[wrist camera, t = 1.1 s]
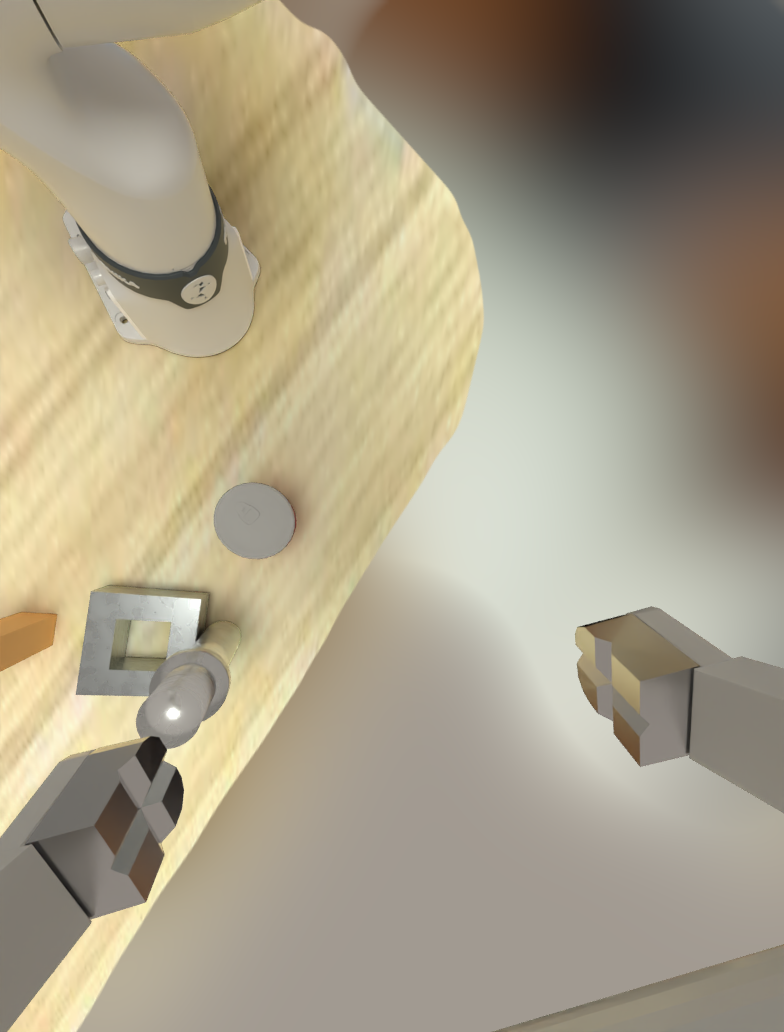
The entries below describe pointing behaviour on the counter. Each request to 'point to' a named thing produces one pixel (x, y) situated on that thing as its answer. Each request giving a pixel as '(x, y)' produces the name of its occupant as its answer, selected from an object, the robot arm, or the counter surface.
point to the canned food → (254, 520)
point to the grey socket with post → (159, 659)
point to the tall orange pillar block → (24, 636)
